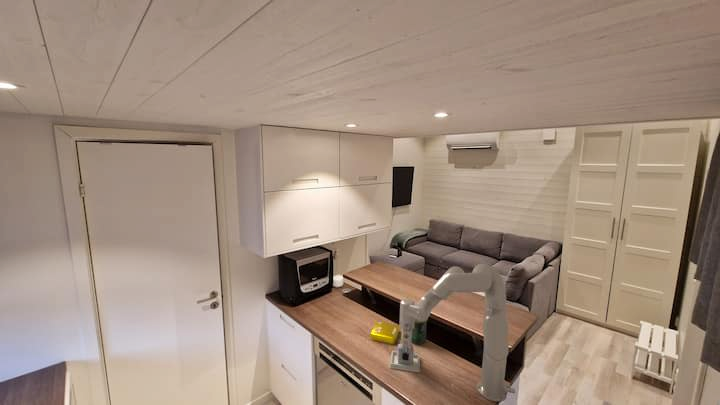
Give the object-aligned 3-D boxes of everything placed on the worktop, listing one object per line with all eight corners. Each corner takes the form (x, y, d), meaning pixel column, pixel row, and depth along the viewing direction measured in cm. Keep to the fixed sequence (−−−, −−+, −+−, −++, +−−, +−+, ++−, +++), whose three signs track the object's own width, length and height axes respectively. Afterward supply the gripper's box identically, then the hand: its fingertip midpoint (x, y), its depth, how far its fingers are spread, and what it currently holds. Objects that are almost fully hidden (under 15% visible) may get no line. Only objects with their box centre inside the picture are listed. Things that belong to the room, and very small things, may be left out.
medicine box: (411, 359, 155) (412, 344, 154) (413, 364, 150) (414, 349, 149) (396, 358, 155) (397, 343, 154) (397, 364, 150) (398, 348, 149)
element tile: (394, 345, 167) (394, 338, 167) (369, 340, 172) (369, 332, 172) (399, 331, 182) (399, 324, 181) (376, 326, 186) (376, 319, 186)
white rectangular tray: (419, 357, 157) (419, 354, 156) (419, 372, 146) (419, 368, 146) (391, 354, 159) (391, 350, 159) (389, 367, 149) (389, 363, 148)
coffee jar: (418, 347, 166) (420, 316, 163) (407, 340, 172) (409, 311, 169) (428, 340, 172) (430, 311, 169) (417, 334, 178) (419, 306, 175)
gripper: (414, 334, 141) (412, 368, 143) (414, 315, 157) (412, 346, 160) (398, 332, 142) (397, 366, 144) (400, 314, 159) (399, 345, 161)
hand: (405, 355), depth 152 cm, fingers open, 5 cm apart
